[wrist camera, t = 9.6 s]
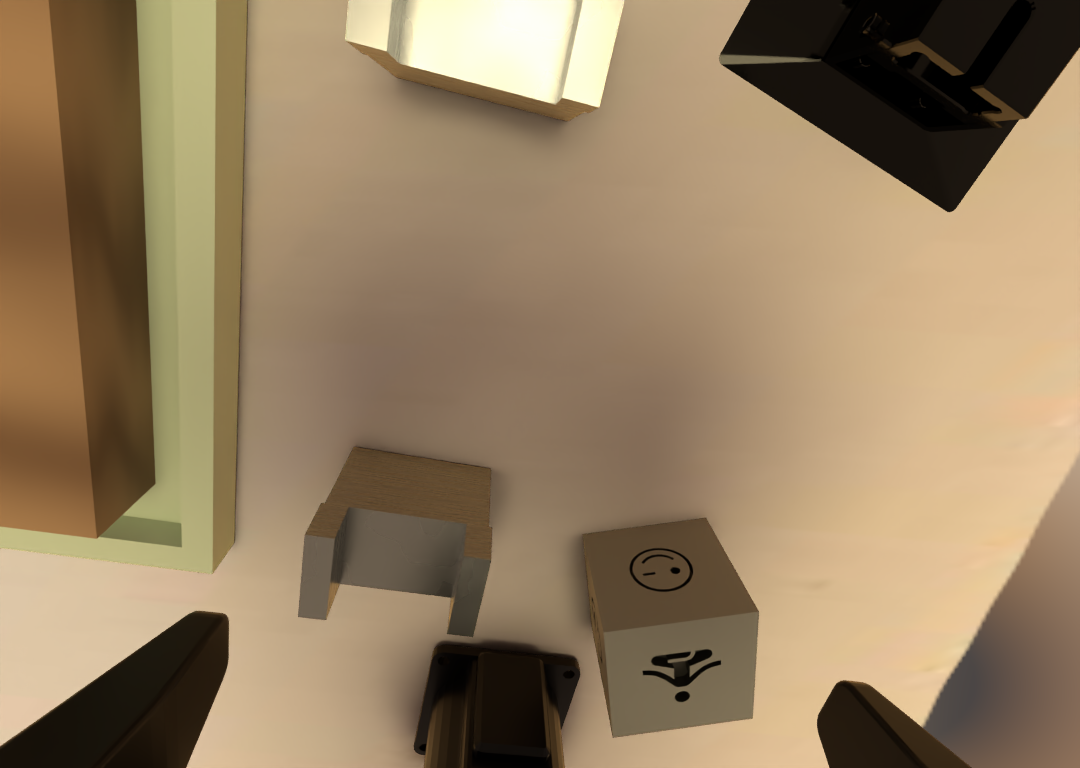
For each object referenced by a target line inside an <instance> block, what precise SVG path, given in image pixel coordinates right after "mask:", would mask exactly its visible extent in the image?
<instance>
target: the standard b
mask: <svg viewBox="0 0 1080 768" xmlns="http://www.w3.org/2000/svg"><path fill="white" fill-rule="evenodd" d="M624 1H625V0H348V11H347V23H346V35H345V41H347V42H348V43H349V44H351V45H352V46H353V47H355V48H356V49H357V50H359V51H360V52H361V53H362V54H365V55H368V56H369V57H371V58H372V59H373V60H375V61H376V62H377V63H378V64H380V65H381V66H382V67H384V68H385V69H386V70H387V71H389V72H390V73H391V74H392V75H394V76H395V77H397V78H401V79H405V80H409V81H413V82H417V83H420V84H424V85H428V86H432V87H436V88H440V89H444V90H448V91H451V92H455V93H459V94H463V95H467V96H471V97H475V98H479V99H482V100H486V101H490V102H494V103H498V104H502V105H506V106H510V107H513V108H517V109H521V110H525V111H529V112H533V113H537V114H541V115H544V116H548V117H552V118H556V119H560V120H564V121H570V120H571V119H573V118H575V117H577V116H578V115H580V114H582V113H584V112H587V113H590V112H592V111H593V110H595V109H597V108H599V106H600V102H601V98H602V93H603V89H604V85H605V81H606V77H607V72H608V68H609V64H610V60H611V56H612V52H613V47H614V43H615V39H616V35H617V31H618V26H619V22H620V18H621V14H622V10H623V5H624Z"/></svg>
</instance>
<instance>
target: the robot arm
mask: <svg viewBox="0 0 1080 768" xmlns="http://www.w3.org/2000/svg"><path fill="white" fill-rule="evenodd" d="M443 657H445V658H443ZM228 658H229V620H228V617H227V615H226V614H223V613H216V612H206V611H195V612H192V613H190V614H188V615H187V616H185V617H184V618H182V619H181V620H180V621H178V622H177V623H175V624H174V625H172V626H171V627H170V628H168V629H167V630H165V631H164V632H162V633H161V634H160V635H158V636H157V637H155V638H154V639H152V640H151V641H150V642H148V643H147V644H145V645H144V646H142V647H141V648H140V649H138V650H137V651H135V652H134V653H133V654H131V655H130V656H128V657H127V658H125V659H124V660H123V661H121V662H120V663H118V664H117V665H115V666H114V667H113V668H111V669H110V670H108V671H107V672H105V673H104V674H103V675H101V676H100V677H98V678H97V679H95V680H94V681H93V682H91V683H90V684H88V685H87V686H85V687H84V688H83V689H81V690H80V691H78V692H77V693H75V694H74V695H73V696H71V697H70V698H68V699H67V700H65V701H64V702H63V703H61V704H60V705H58V706H57V707H55V708H54V709H53V710H51V711H50V712H48V713H47V714H46V715H44V716H43V717H41V718H40V719H38V720H37V721H36V722H34V723H33V724H31V725H30V726H28V727H27V728H26V729H24V730H23V731H21V732H20V733H18V734H17V735H16V736H14V737H13V738H11V739H10V740H8V741H7V742H6V743H4V744H3V745H1V746H0V768H186V767H187V764H188V762H189V760H190V757H191V755H192V752H193V750H194V748H195V745H196V743H197V740H198V738H199V736H200V733H201V731H202V728H203V726H204V724H205V721H206V719H207V716H208V714H209V712H210V709H211V707H212V704H213V702H214V700H215V697H216V695H217V693H218V690H219V688H220V685H221V683H222V681H223V678H224V675H225V672H226V669H227V665H228ZM568 670H570V671H568ZM579 677H580V667H579V664H578V662H577V661H576V660H574V659H570V658H561V657H552V656H543V655H534V654H525V653H516V652H508V651H499V650H490V649H481V648H472V647H463V646H454V645H440V646H437V647H436V648H435V649H434V651H433V654H432V659H431V664H430V669H429V673H428V678H427V683H426V688H425V693H424V698H423V703H422V707H421V712H420V717H419V722H418V727H417V732H416V737H415V743H414V750H415V752H416V753H418V754H421V755H425V761H424V768H565V765H564V755H563V746H562V736H561V729H562V726H563V724H564V721H565V718H566V715H567V712H568V709H569V706H570V703H571V700H572V698H573V695H574V692H575V689H576V686H577V683H578V680H579ZM817 728H818V733H819V737H820V740H821V743H822V746H823V749H824V752H825V755H826V758H827V761H828V764H829V768H971V767H970V766H969V765H968V764H966V763H965V762H964V761H963V760H961V759H960V758H959V757H958V756H957V755H955V754H954V753H953V752H952V751H950V750H949V749H948V748H947V747H946V746H944V745H943V744H942V743H941V742H939V741H938V740H937V739H936V738H934V737H933V736H932V735H931V734H929V733H928V732H927V731H926V730H925V729H923V728H922V727H921V726H920V725H918V724H917V723H916V722H915V721H914V720H912V719H911V718H910V717H909V716H907V715H906V714H905V713H904V712H902V711H901V710H900V709H899V708H898V707H896V706H895V705H894V704H893V703H891V702H890V701H889V700H888V699H886V698H885V697H884V696H883V695H882V694H880V693H879V692H878V691H877V690H875V689H874V688H873V687H872V686H870V685H868V684H866V683H863V682H855V681H846V680H843V681H840V682H838V683H837V684H836V685H835V686H834V688H833V690H832V692H831V693H830V695H829V697H828V699H827V700H826V702H825V704H824V706H823V707H822V709H821V711H820V713H819V715H818V719H817Z"/></svg>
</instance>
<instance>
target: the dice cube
mask: <svg viewBox="0 0 1080 768" xmlns="http://www.w3.org/2000/svg"><path fill="white" fill-rule="evenodd" d="M583 543H584V553H585V563H586V573H587V583H588V593H589V603H590V614H591V624H592V631H593V636H594V641H595V646H596V652H597V657H598V662H599V667H600V673H601V678H602V683H603V688H604V694H605V699H606V704H607V709H608V715H609V720H610V725H611V730H612V736H613V738H614V737H621V736H629V735H636V734H643V733H650V732H658V731H665V730H672V729H680V728H687V727H694V726H701V725H709V724H716V723H723V722H730V721H738V720H745V719H752V718H753V705H754V687H755V670H756V653H757V636H758V619H759V611H758V609H757V607H756V606H755V604H754V602H753V600H752V599H751V597H750V595H749V593H748V592H747V590H746V588H745V586H744V584H743V583H742V581H741V579H740V577H739V576H738V574H737V572H736V570H735V569H734V567H733V565H732V563H731V562H730V560H729V558H728V556H727V554H726V553H725V551H724V549H723V547H722V546H721V544H720V542H719V540H718V539H717V537H716V535H715V533H714V532H713V530H712V528H711V526H710V525H709V523H708V521H707V519H706V518H702V519H694V520H687V521H679V522H672V523H664V524H657V525H649V526H642V527H634V528H627V529H619V530H612V531H604V532H596V533H589V534H583Z"/></svg>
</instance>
